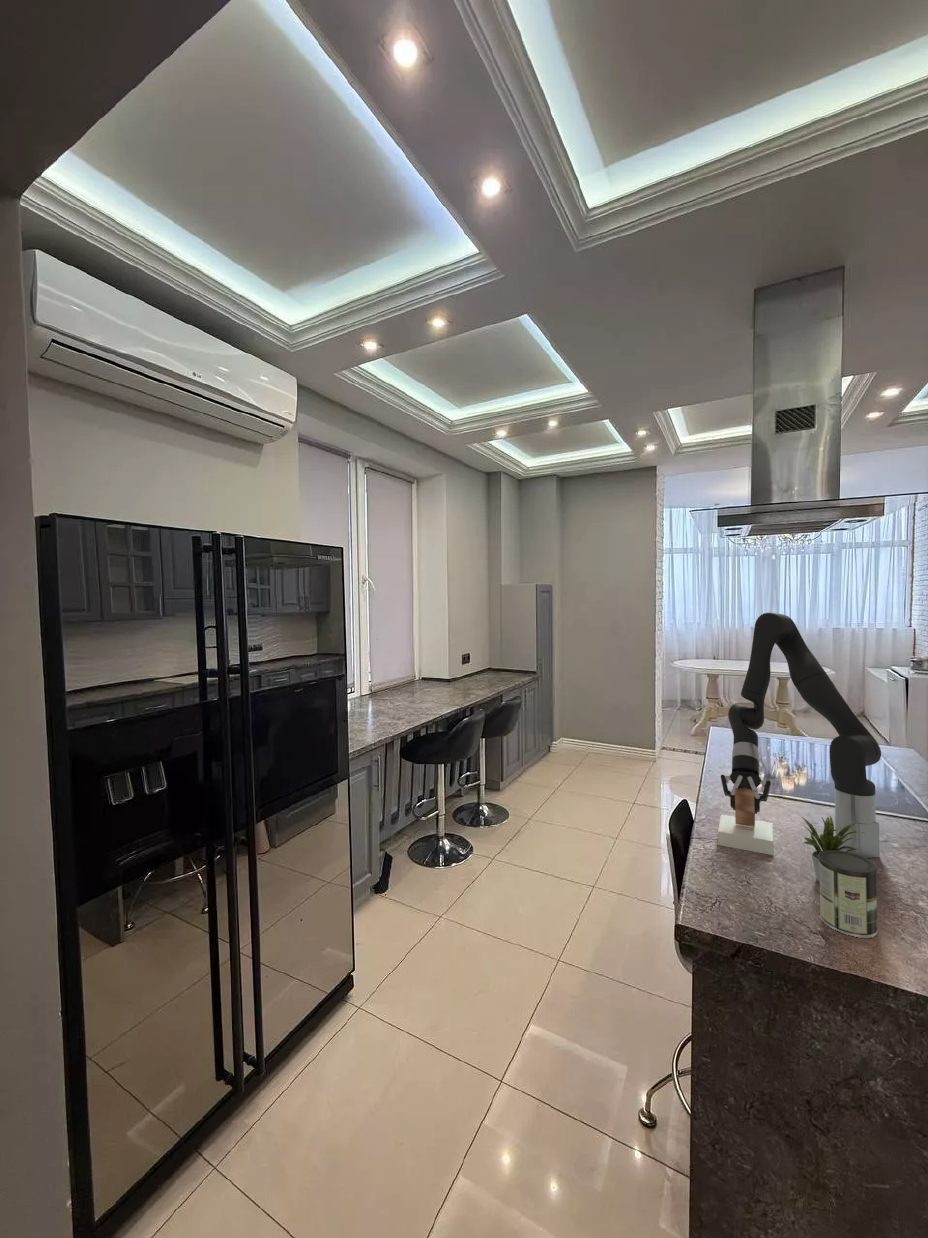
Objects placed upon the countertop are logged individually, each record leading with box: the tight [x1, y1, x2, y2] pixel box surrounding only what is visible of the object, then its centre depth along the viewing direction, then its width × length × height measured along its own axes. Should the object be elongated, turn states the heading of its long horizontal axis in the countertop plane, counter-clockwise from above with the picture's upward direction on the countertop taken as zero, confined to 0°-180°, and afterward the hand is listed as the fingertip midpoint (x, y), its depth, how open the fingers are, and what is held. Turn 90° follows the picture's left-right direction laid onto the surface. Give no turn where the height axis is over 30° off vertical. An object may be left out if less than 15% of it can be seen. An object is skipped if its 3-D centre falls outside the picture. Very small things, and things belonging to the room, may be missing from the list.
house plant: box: [799, 814, 864, 883], centre depth 127 cm, size 14×14×16 cm
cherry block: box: [734, 788, 756, 827], centre depth 152 cm, size 5×5×10 cm
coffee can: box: [818, 850, 879, 939], centre depth 111 cm, size 10×10×14 cm
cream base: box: [717, 814, 774, 856], centre depth 152 cm, size 14×14×4 cm
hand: (744, 810), depth 150 cm, fingers closed on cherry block, 5 cm apart
